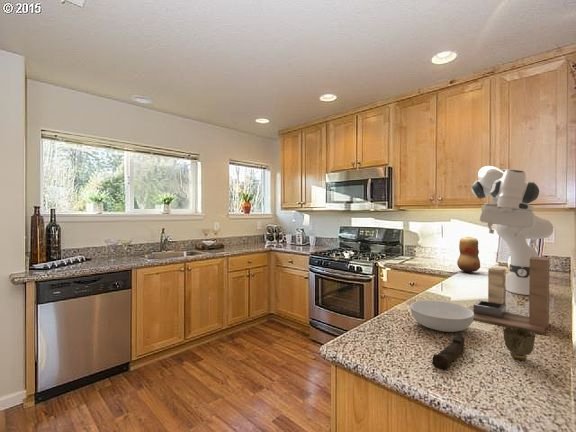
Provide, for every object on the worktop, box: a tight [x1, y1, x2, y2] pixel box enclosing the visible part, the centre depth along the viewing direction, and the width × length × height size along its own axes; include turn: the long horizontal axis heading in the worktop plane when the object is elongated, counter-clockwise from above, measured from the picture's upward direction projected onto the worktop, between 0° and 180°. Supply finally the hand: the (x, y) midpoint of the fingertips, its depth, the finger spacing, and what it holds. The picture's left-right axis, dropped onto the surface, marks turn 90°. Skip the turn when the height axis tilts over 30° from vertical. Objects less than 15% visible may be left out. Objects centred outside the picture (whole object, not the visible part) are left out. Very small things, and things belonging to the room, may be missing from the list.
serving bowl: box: [409, 299, 474, 333], centre depth 111 cm, size 21×21×7 cm
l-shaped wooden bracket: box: [468, 256, 550, 336], centre depth 117 cm, size 16×26×25 cm, turn 46°
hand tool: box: [431, 334, 465, 371], centre depth 87 cm, size 19×4×5 cm, turn 131°
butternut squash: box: [456, 236, 481, 274], centre depth 212 cm, size 14×13×25 cm
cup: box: [502, 326, 537, 361], centre depth 87 cm, size 8×7×8 cm
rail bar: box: [487, 266, 507, 305], centre depth 129 cm, size 5×5×18 cm
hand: (503, 235), depth 136 cm, fingers open, 8 cm apart
